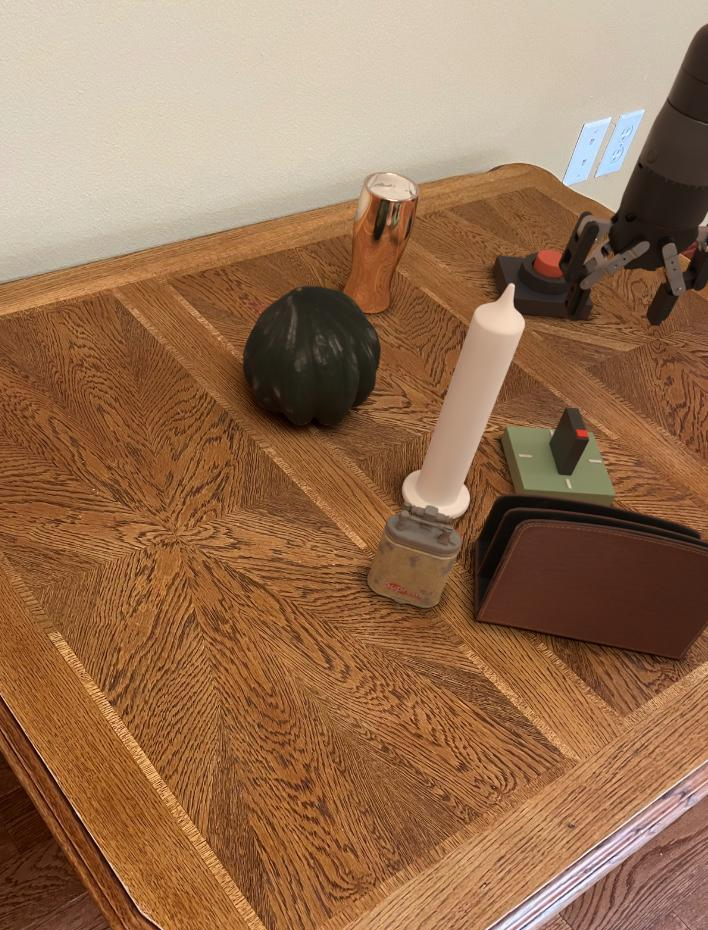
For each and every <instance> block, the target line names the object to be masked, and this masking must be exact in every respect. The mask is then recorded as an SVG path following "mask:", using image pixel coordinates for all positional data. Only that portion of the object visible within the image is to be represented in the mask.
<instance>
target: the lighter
mask: <svg viewBox="0 0 708 930" xmlns="http://www.w3.org/2000/svg"><path fill="white" fill-rule="evenodd" d="M453 520H454V519H453V517H451V518H450V516H448V515H447V516H446V515H445V514H442V513H438V508H436V507H434V506H431V505H427V506H426V507H425V508H422V507H416V506H415V505H413V506H412V505H411V503H409V502H405V501H403V502H402V504H401V507H400V512H399V513H395V514H392V515H390V516H389V517H388V518H387V520H386V523H385V525H384V527H383V530H382V533H381V536H380V540H379V543H378V545H377V548H376V552H375V555H374V558H373V561H372V564H371V566H370V567H371V568H370V570H369V572H368V574H367V578H366V582H367V585H368V587H369V588H370V590H372V591H373V593H375V594H377V595H379V596H383V597H386V598H389V599H392V600H393V601H394V602H395V603H396V604H399V605H406V604H408V605H411V606H415V607H418V608H421V609H429V608H433V607H435V606H436V605H438V604H439V603H440V600H441V597H442V593H443V591H444V589H445V587H446V584H447V581H448V579H449V577H450V574H451V572H452V569H453V567H454V565H455V562H456V560H457V559H458V556H459V554H460V548H461V546H462V544H463V543H462V542H463V540H462V537H461V535H460V534H459V532H458V531H457V530H456V529H454V528H453V526H451V525H452V522H453Z"/></svg>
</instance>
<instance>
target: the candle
mask: <svg viewBox="0 0 708 930" xmlns="http://www.w3.org/2000/svg"><path fill="white" fill-rule="evenodd" d="M514 289H515V285H514V284H512V283H511V284H509V285H508V287H507V288H506V290H505V291H504V293H503V294H502V296H501V295H500V297H499V298H498V299H497V300H496V301H494V302H492V301H491V302H487V303H483V304H481V305H479V306H478V307H477V308H476V309H475V310H474V312H473V315H472V318H471V320H470V324H469V327H468V330H467V332H466V335H465V338H464V341H463V345H462V347H461V350H460V353H459V356H458V358H457V362H456V365H455V367H454V371H453V374H452V377H451V380H450V383H449V386H448V389H447V392H446V394H445V397H444V401H443V404H442V406H441V409H440V412H439V415H438V418H437V421H436V424H435V427H434V430H433V433H432V436H431V439H430V442H429V445H428V448H427V451H426V454H425V457H424V460H423V463H422V466H421V468H420V469H416V470H414V471H412V472H411V473H408V475H407V476H406V477H405V478H404V480H403V483H402V486H401V495H402V498H403V500H404V502H409V503H411V505H412V506H413V505H415V506H416V507H422V508H425V507H426V506H427V505H431V506H434V507H436V508H438V513H442V514H445V515H446V516H447V515H448V516H450V518H451V517H453V519H452V520H455V519H458V518H459V517H461V516H463V515H464V514H465V513H466V511H467V510H468V508H469V505H470V501H471V496H470V495H471V494H470V492H469V489H468V487H467V486H466V484H464V483H465V481H466V478H467V476H468V474H469V471H470V469H471V465H472V463H473V460H474V458H475V455H476V452H477V450H478V448H479V446H480V442H481V440H482V437H483V436H484V433H485V430H486V427H487V425H488V422H489V419H490V417H491V414H492V412H493V409H494V407H495V404H496V401H497V400H498V397H499V394H500V392H501V389H502V386H503V384H504V381H505V379H506V376H507V374H508V371H509V369H510V366H511V363H512V362H513V361H512V360H513V358H514V356H515V353H516V351H517V348H518V346H519V343H520V340H521V338H522V335H523V332H524V330H525V327H526V322H525V319H524V316H523V314H520V313H519V312H518V311H517V310H516V309H515V308H514V304H513V298H514Z"/></svg>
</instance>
